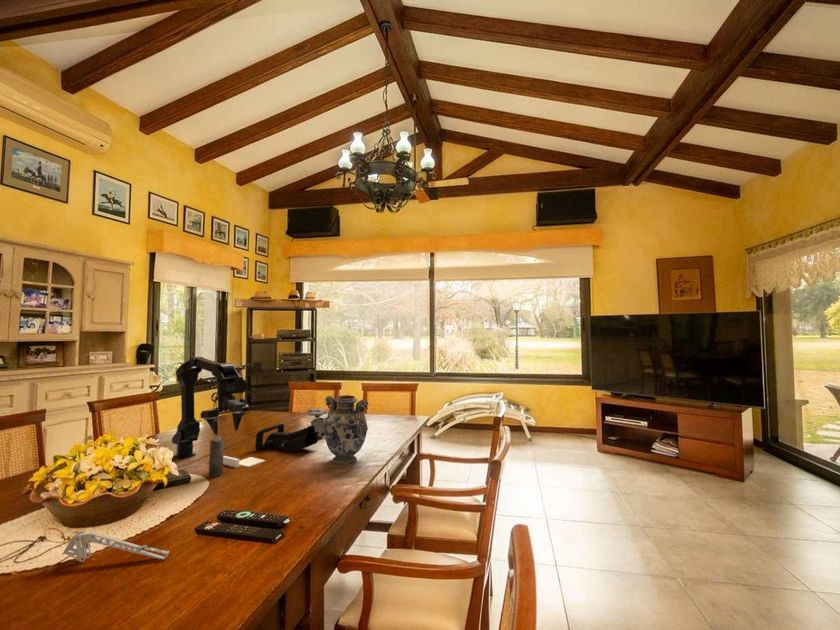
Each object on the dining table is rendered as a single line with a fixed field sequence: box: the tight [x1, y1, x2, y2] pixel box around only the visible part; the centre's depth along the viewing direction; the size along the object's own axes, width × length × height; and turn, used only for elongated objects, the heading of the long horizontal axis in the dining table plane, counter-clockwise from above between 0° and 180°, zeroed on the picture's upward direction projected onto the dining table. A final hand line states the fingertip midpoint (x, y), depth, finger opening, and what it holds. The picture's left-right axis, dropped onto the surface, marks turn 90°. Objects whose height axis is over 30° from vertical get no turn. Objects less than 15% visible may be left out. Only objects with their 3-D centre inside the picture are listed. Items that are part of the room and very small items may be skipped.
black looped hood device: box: [254, 423, 319, 453], centre depth 193 cm, size 17×27×15 cm, turn 71°
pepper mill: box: [208, 434, 225, 478], centre depth 157 cm, size 5×5×15 cm
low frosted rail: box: [223, 455, 240, 468], centre depth 170 cm, size 15×2×3 cm, turn 64°
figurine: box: [302, 407, 328, 439], centre depth 217 cm, size 9×12×15 cm
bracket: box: [62, 530, 170, 563], centre depth 99 cm, size 3×21×10 cm, turn 95°
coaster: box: [239, 456, 266, 468], centre depth 172 cm, size 9×9×1 cm
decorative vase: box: [323, 394, 369, 465], centre depth 178 cm, size 21×19×28 cm
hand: (226, 432), depth 166 cm, fingers open, 9 cm apart
